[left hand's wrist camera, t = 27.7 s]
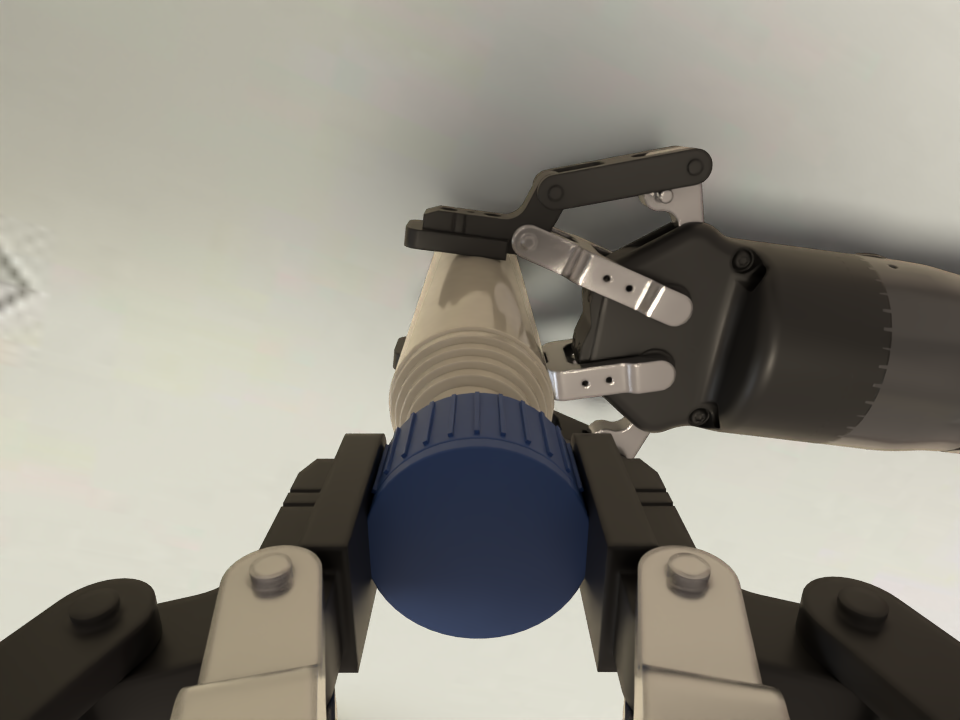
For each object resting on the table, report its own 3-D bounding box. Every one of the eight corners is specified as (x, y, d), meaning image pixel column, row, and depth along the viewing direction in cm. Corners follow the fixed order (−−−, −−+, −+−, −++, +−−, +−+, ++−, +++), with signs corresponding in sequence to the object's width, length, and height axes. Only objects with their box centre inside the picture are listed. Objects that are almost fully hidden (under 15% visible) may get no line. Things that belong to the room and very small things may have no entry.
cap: (608, 424, 12) (634, 485, 10) (536, 582, 13) (546, 664, 11) (411, 362, 11) (396, 412, 9) (356, 532, 13) (333, 608, 11)
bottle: (516, 310, 31) (575, 610, 12) (432, 309, 31) (359, 608, 12) (519, 225, 30) (593, 415, 11) (431, 223, 29) (346, 412, 11)
